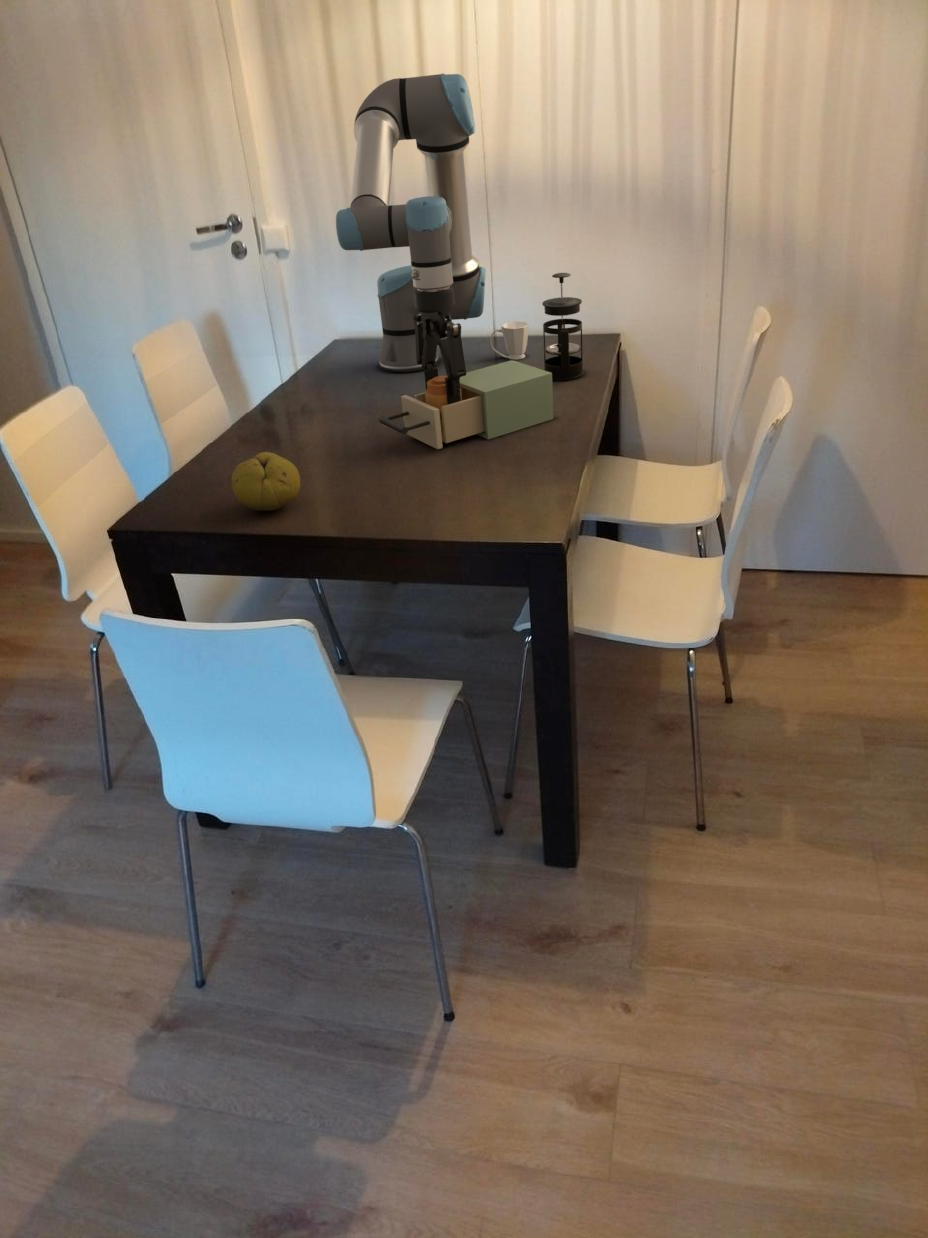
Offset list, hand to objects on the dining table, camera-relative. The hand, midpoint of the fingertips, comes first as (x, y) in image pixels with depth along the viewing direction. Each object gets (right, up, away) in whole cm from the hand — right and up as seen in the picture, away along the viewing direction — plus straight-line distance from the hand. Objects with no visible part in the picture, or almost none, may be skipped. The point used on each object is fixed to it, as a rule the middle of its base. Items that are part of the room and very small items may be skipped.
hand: (444, 405), depth 187 cm
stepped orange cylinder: (0, 0, 0) cm, 0 cm away
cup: (+16, +23, +50) cm, 57 cm away
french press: (+28, +15, +33) cm, 46 cm away
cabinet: (+12, -1, +10) cm, 15 cm away
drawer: (-1, -6, +2) cm, 6 cm away
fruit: (-30, -23, -20) cm, 43 cm away
